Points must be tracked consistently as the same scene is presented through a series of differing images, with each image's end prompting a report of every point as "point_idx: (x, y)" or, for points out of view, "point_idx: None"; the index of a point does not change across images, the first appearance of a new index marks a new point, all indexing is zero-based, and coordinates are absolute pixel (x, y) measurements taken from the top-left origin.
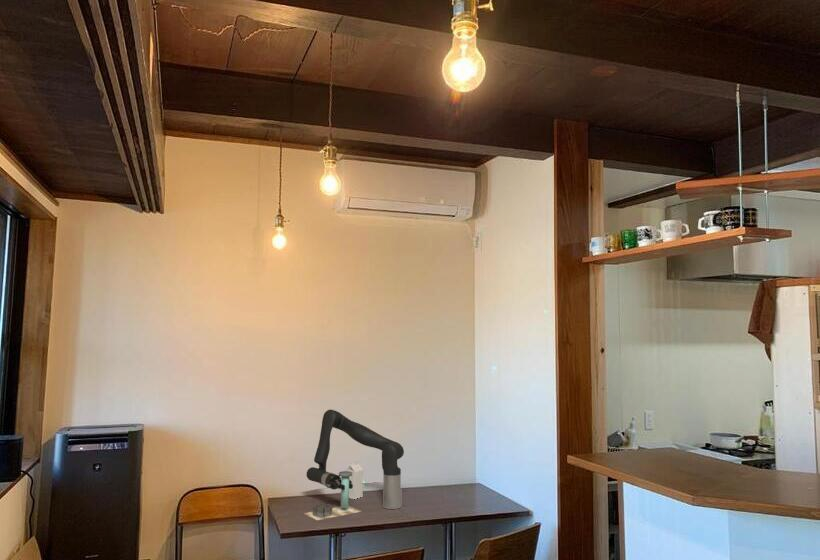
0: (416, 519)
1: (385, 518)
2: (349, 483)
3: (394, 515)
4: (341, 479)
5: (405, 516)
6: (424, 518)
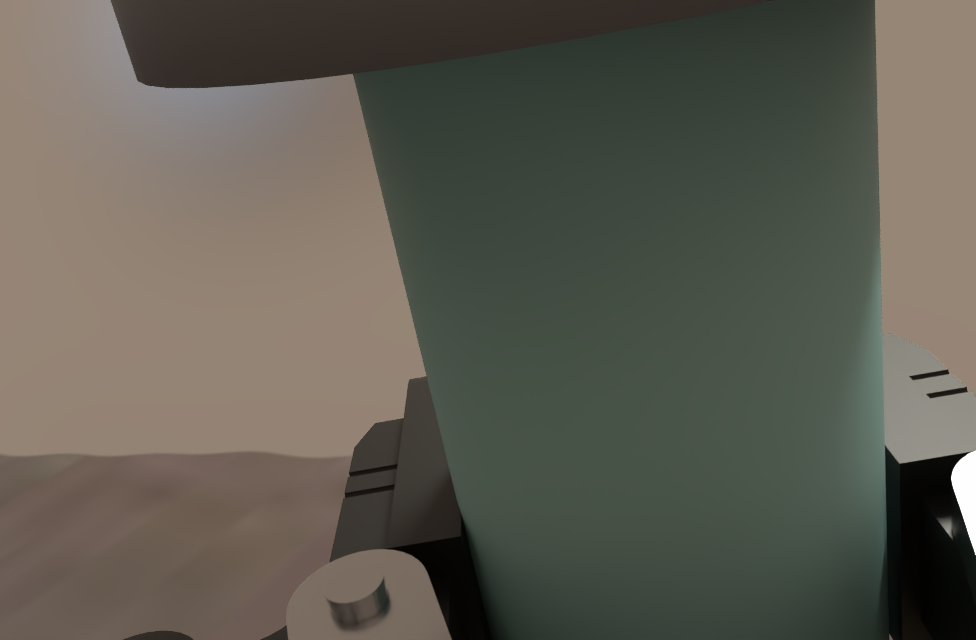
0: (82, 455)
1: (280, 555)
2: (430, 464)
3: (86, 614)
4: (878, 212)
5: (46, 547)
6: (5, 458)
